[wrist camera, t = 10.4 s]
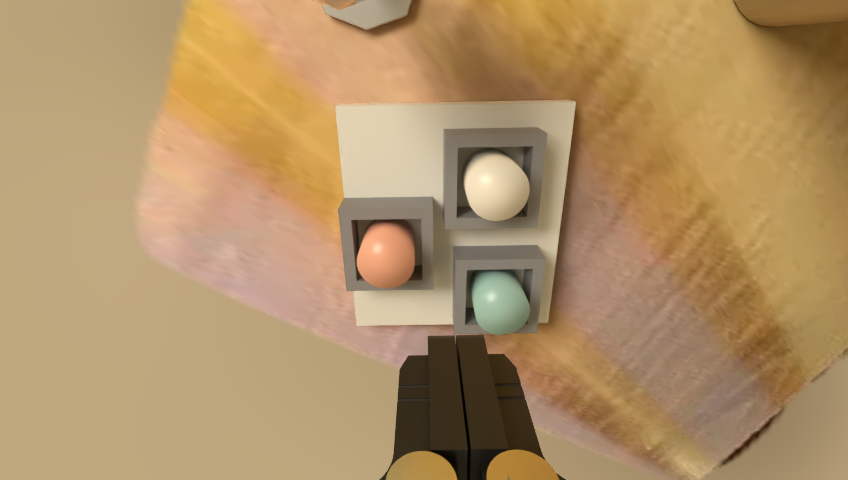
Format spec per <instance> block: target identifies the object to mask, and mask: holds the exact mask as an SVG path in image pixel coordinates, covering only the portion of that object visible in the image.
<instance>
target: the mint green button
mask: <svg viewBox="0 0 848 480" xmlns="http://www.w3.org/2000/svg"><path fill="white" fill-rule="evenodd" d="M469 287H470V292H471V297H472V302H473V307H474V312H475V316H476V320H477V322H478V324H479V325H480V327H481V328H482V329H484V330H485V331H487V332H489V333H492V334H496V335H505V334H509V333H512V332H515V331H517V330H518V329H520V328H521V327H522V326H523V325H524V324H525V323H526V321H527V320H528V318H529V314H530V305H529V302H528V300H527V298H526V295H525V293H524V291H523V288H522V286H521V284H520V282H519V279H518V277H517V275H516V273H515V271H514V270H513V269H498V270H475V272H474V273H473V274H472V276H471V278H470V283H469Z"/></svg>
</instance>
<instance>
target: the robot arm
mask: <svg viewBox="0 0 848 480" xmlns="http://www.w3.org/2000/svg"><path fill="white" fill-rule="evenodd" d="M734 1H735V3H736V5H737V7H738V8H739V10H740V12H741V13H742V14H743V15H744V16H745V17H746V18H747V19H748V20H750V21H752V22H754V23H756V24H758V25H762V26H766V27H781V26H793V25H805V24H820V23H832V22H843V21H848V0H734ZM380 480H565V479H564V478H562V477H561V476H560V475H558V474H557V473H556V472H555V471H554V469H553V468H552V467H551V466H550V465H549V463H548V462H546V460H545V458H544V457H543V455H542V452H541V449H540V446H539V442H538V439H537V436H536V432H535V429H534V426H533V422H532V419H531V416H530V413H529V409H528V406H527V403H526V400H525V396H524V393H523V389H522V386H521V383H520V379H519V376H518V373H517V369H516V367H515V366H514V365H513V364H512V362H511V361H510V360H509V359H508V358H507V357H506V356H505V355H504V354H488V353H487V348H486V344H485V339H484V336H483V335H456V344H455V336H428V355H419V356H408V357H407V359H406V361H405V362H404V364H403V365H402V367H401V368H400V375H399V388H398V402H397V415H396V429H395V443H394V455H393V460H392V463H391V465H390V467H389V469H388V471H387V472H386V473H385V475H384V476H383V477H382V478H381V479H380Z"/></svg>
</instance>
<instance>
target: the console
mask: <svg viewBox="0 0 848 480" xmlns="http://www.w3.org/2000/svg"><path fill="white" fill-rule="evenodd" d="M575 106H576V102H574V101H571V100H521V101H461V102H400V103H340V104H338V105H336V106H335V108H336V119H337V129H338V139H339V149H340V160H341V170H342V180H343V190H344V199H343V201H342V203H341V205H340V207H339V208H338V213H339V222H340V232H341V241H342V251H343V260H344V270H345V279H346V289H347V291H353V293H354V303H355V313H356V323H357V326H376V325H442V324H453V326H454V334H490V333H489V332H487V331H485V330H484V329H482V328H481V327H480V325H479V324H478V322H477V320H476V316H475V312H474V307H473V302H472V297H471V292H470V287H469V283H470V278H471V276H472V274H473V273H474V272H475V270H498V269H513V270H514V271H515V273H516V275H517V277H518V279H519V282H520V284H521V286H522V288H523V291H524V293H525V295H526V298H527V300H528V302H529V305H530V314H529V318H528V320H527V321H526V323H525V324H524V325H523V326H522V327H521V328H520V329H518V330H517V331H515V332H512V333H537V329H538V323H548V319H549V311H550V303H551V295H552V287H553V280H554V272H555V264H556V256H557V248H558V240H559V232H560V224H561V217H562V209H563V201H564V193H565V185H566V177H567V169H568V161H569V154H570V146H571V138H572V130H573V122H574V114H575ZM485 148H497V149H500V150H502V151H504V152H506V153H507V154H508V155H509V156H510V157H511V158H512V159H513V160H514V161H515V163H516V164H517V165H518V166H519V167H520V168H521V169H522V170H523V172H524V173H525V174H526V176H527V178H528V181H529V186H530V192H529V197H528V200H527V202H526V204H525V206H524V207H523V208H522V210H521V211H520V212H519V213H517V214H516V215H515V216H513V217H511V218H509V219H506V220H502V221H490V220H486V219H484V218H482V217H480V216H478V215H477V214H476V213H475V212H474V211H473V210H472V208H471V206H470V204H469V201H468V198H467V195H466V192H465V189H464V186H463V183H462V170H463V166H464V164H465V162H466V161H467V159H468V158H469V157H470V156H471V155H472V154H473V153H475V152H477V151H479V150H481V149H485ZM377 219H404V220H406V221H407V222H408V223H409V224H410V225H411V227H412V228H413V230H414V233H415V238H416V241H415V267H414V271H413V273H412V275H411V277H410V278H409V279H408V280H407V281H406V282H405V283H404V284H402V285H400V286H398V287H395V288H379V287H376V286H373V285H371V284H370V283H368V282H367V281H366V280H364V278H363V277H362V276H361V274H360V273H359V271H358V267H357V256H358V253H359V250H360V247H361V244H362V241H363V237H364V234H365V231H366V229H367V227H368V225H369V224H370V223H371V222H372V221H373V220H377Z"/></svg>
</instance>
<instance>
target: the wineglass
mask: <svg viewBox="0 0 848 480" xmlns="http://www.w3.org/2000/svg"><path fill="white" fill-rule="evenodd" d="M314 1H316V2H319V3H321V4H322V6H323V9H324V12H325V14H326V15H329V16H332V17H334V18H337V19H339V20H342V21H344V22H347V23H349V24H352V25H354V26H357V27H359V28H362V29H364V30H370V29H372V28H375V27H378V26H381V25H383V24H386V23H389V22H392V21H394V20H397V19H400V18H403V17H405V16H407V15H408V12H409V8H410V5H411V2H412V0H314Z"/></svg>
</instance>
